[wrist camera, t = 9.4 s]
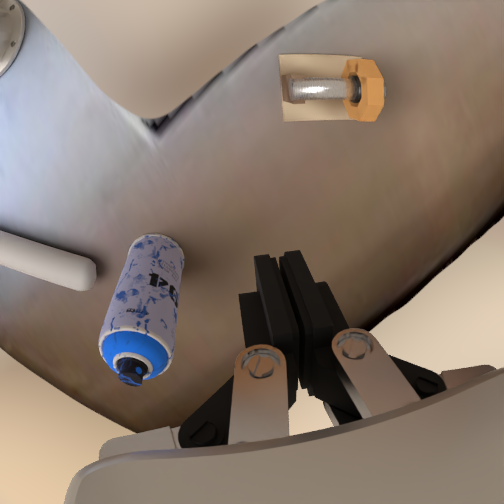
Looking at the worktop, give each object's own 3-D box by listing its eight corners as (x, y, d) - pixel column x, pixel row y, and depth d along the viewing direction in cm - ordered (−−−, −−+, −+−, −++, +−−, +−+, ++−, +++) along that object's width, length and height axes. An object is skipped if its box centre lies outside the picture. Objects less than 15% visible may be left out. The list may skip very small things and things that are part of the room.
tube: (95, 265, 37) (-46, 218, 29) (89, 302, 38) (-48, 253, 30) (103, 255, 42) (-28, 213, 34) (97, 289, 43) (-31, 245, 35)
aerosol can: (196, 262, 43) (192, 386, 26) (155, 291, 44) (136, 411, 27) (157, 221, 39) (123, 337, 22) (117, 255, 41) (72, 371, 23)
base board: (278, 55, 30) (289, 50, 25) (360, 57, 31) (382, 55, 26) (283, 121, 34) (294, 128, 30) (362, 118, 35) (383, 126, 30)
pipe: (286, 75, 28) (294, 74, 26) (374, 77, 29) (387, 78, 26) (288, 102, 30) (295, 104, 27) (375, 102, 30) (388, 105, 28)
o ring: (340, 60, 29) (366, 58, 24) (354, 61, 29) (382, 59, 24) (342, 115, 33) (368, 124, 27) (356, 115, 33) (383, 124, 27)
